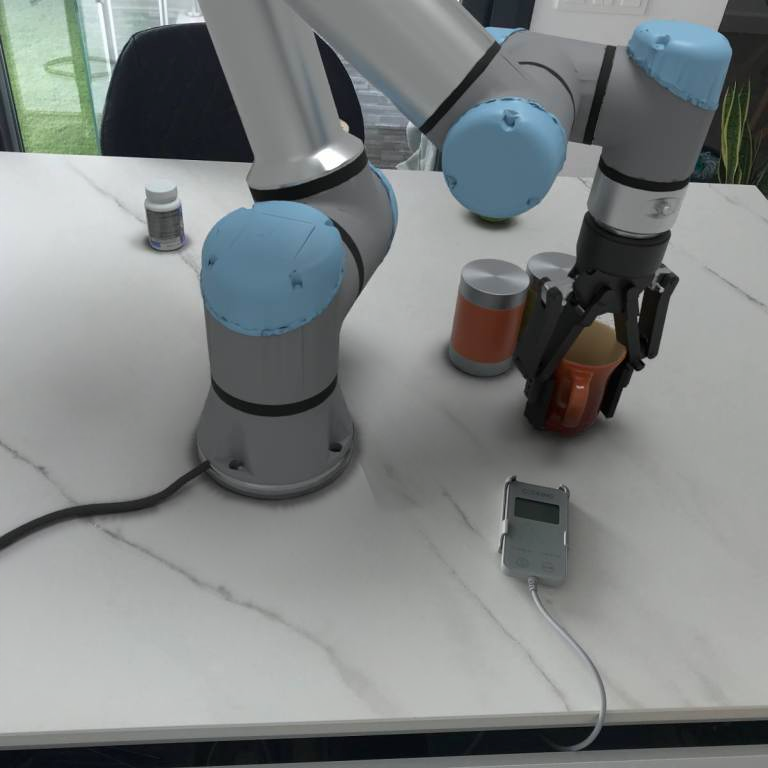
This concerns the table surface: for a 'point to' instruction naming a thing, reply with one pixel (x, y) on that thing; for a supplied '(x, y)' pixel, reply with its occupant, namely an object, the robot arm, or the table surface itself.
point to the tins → (498, 309)
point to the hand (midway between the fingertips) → (568, 415)
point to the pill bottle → (164, 215)
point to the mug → (583, 380)
